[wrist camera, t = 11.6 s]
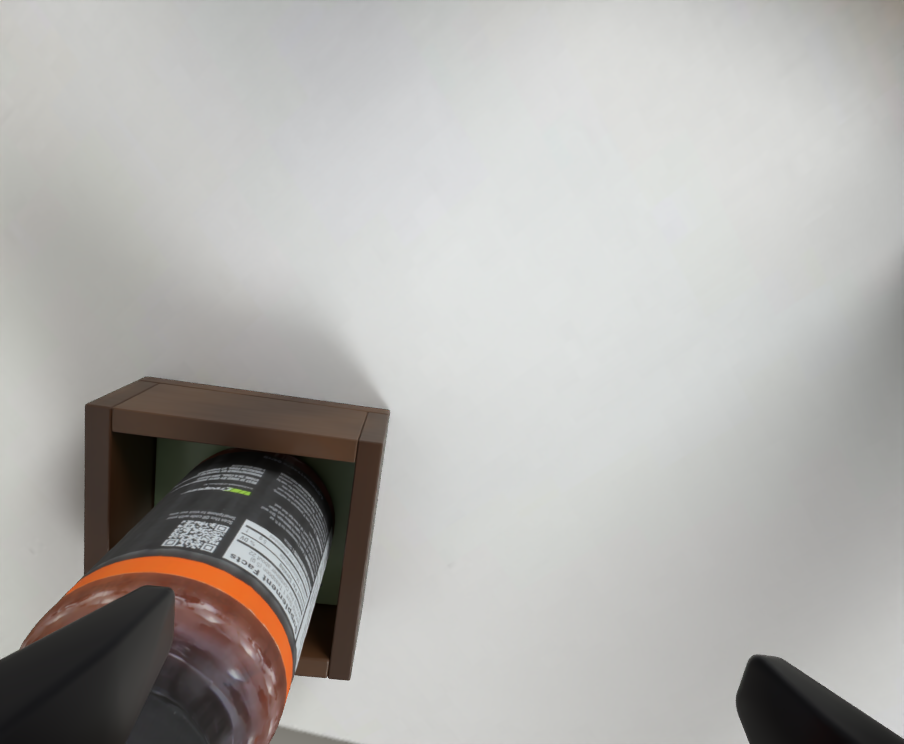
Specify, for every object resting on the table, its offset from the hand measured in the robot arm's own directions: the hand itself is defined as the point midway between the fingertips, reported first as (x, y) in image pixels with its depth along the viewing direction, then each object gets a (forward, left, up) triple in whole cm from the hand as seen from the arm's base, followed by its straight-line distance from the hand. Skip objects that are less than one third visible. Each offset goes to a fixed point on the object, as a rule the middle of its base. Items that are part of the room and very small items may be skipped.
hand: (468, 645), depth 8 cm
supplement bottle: (+6, +5, -12) cm, 14 cm away
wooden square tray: (+6, +5, -13) cm, 15 cm away
